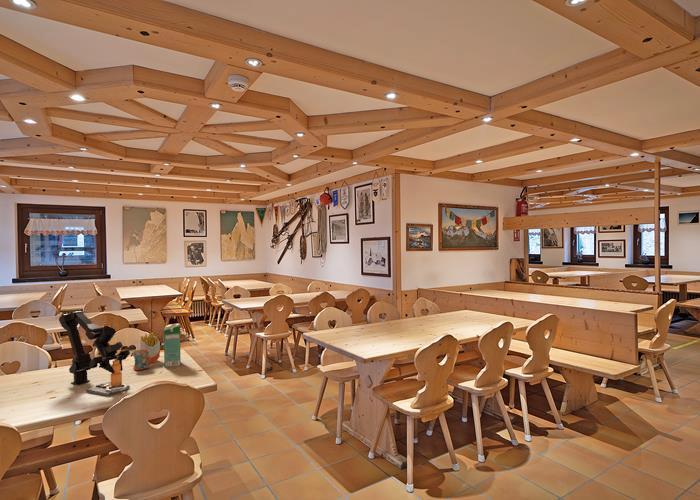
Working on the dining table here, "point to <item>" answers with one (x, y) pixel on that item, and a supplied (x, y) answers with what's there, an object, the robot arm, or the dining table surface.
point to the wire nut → (116, 374)
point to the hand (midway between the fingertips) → (117, 371)
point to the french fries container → (150, 347)
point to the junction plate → (107, 389)
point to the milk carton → (172, 345)
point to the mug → (141, 359)
